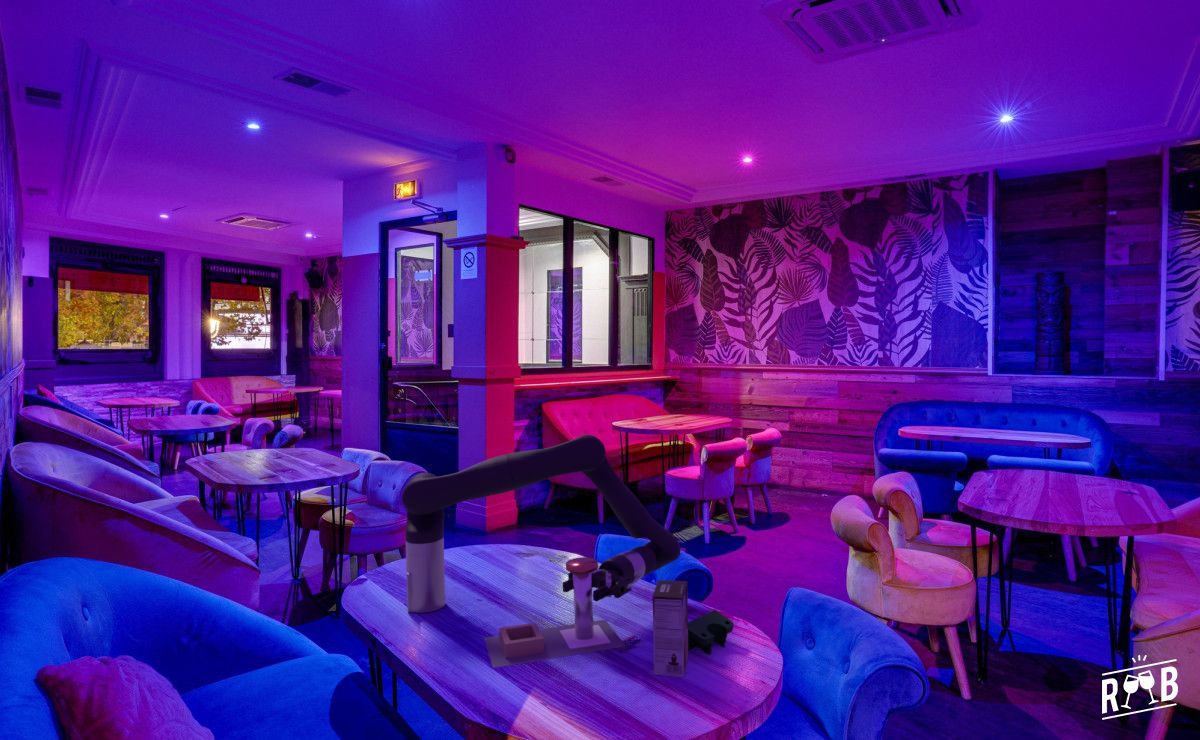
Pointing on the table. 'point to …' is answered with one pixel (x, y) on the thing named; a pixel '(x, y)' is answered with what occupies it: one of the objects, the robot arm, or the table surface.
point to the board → (546, 643)
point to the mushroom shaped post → (582, 595)
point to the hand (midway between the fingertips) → (578, 592)
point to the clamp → (708, 631)
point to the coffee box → (670, 628)
